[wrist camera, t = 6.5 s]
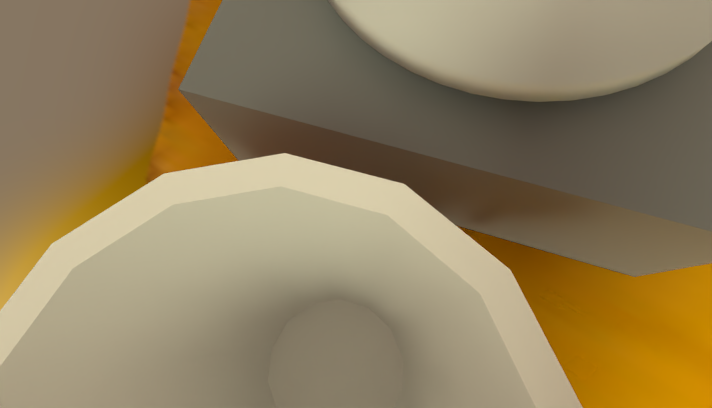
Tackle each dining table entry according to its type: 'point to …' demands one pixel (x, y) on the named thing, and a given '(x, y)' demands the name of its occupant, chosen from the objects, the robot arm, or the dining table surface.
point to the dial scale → (487, 112)
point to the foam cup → (273, 302)
